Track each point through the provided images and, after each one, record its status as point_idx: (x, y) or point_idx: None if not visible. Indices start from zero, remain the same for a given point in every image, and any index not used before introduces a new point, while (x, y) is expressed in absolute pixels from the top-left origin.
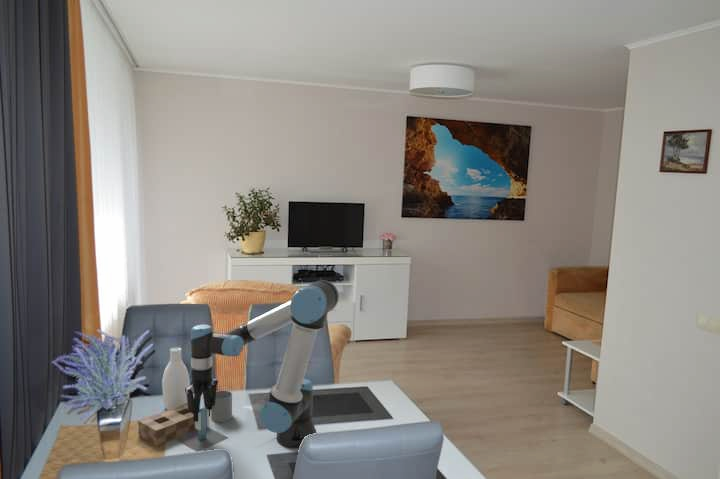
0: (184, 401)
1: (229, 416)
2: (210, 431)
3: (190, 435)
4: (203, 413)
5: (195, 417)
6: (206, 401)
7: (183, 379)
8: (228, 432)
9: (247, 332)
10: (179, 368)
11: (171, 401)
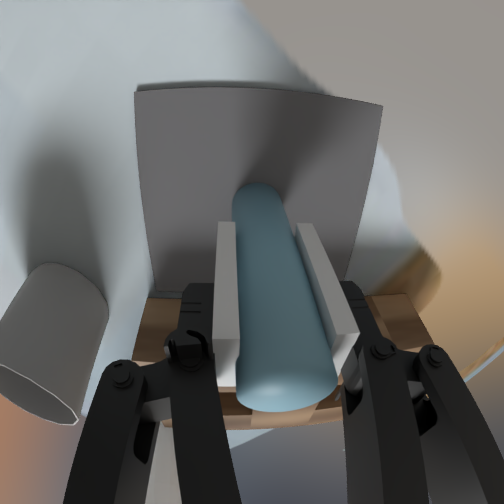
0: None
1: (36, 276)
2: (169, 237)
3: None
4: (300, 320)
5: (371, 314)
6: (231, 458)
7: (154, 500)
8: (95, 161)
9: None
10: None
11: None
